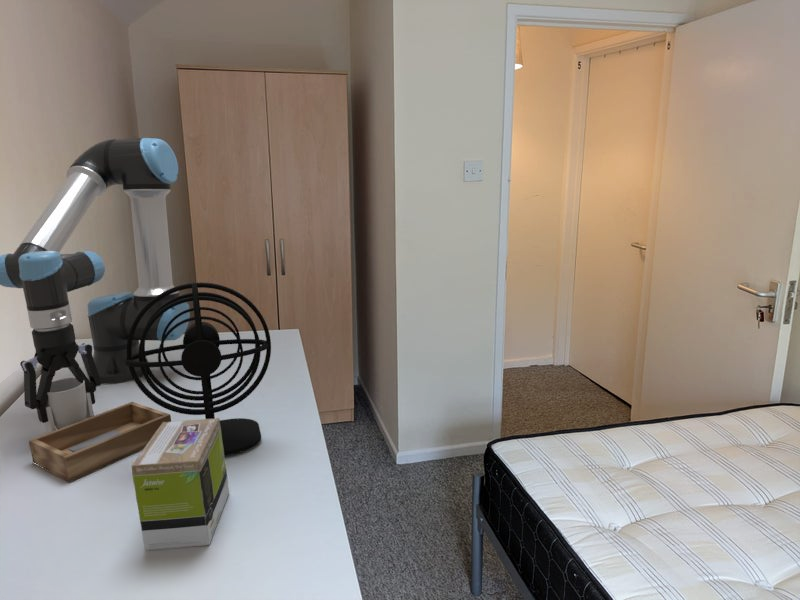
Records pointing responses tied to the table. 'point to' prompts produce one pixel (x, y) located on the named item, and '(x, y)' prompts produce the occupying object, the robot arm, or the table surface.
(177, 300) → the desk fan
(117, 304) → the robot arm
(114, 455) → the wooden box
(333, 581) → the table surface
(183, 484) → the tea box
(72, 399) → the cup
